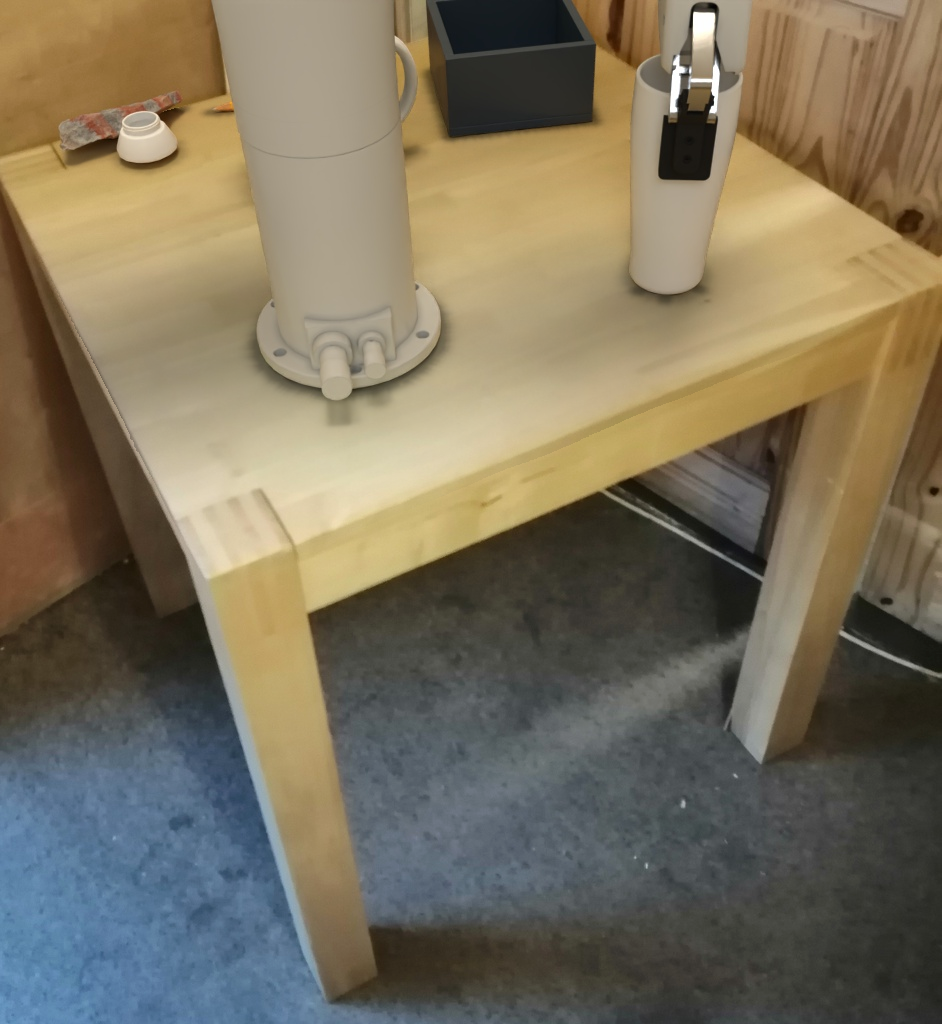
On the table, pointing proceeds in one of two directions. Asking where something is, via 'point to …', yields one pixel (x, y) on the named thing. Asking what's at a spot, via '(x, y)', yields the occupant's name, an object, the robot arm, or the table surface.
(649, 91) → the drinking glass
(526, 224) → the table surface
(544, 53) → the bin
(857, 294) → the table surface
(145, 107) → the stone
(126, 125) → the lidless jar
